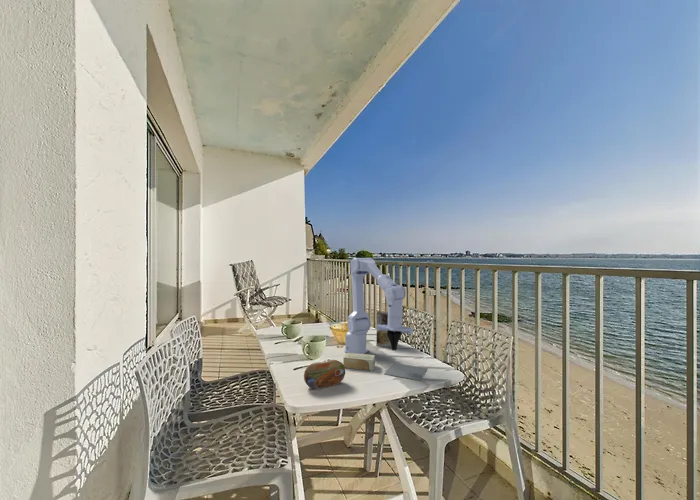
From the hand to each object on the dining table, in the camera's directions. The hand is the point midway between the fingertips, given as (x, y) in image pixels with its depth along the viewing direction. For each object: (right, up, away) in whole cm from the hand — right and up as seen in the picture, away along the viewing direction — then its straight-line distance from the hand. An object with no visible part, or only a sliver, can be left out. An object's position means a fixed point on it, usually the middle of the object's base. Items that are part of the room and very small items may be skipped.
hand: (394, 349), depth 127 cm
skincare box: (-8, -6, +1) cm, 10 cm away
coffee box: (0, -8, +33) cm, 34 cm away
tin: (-27, -8, -16) cm, 32 cm away
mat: (+4, -8, -2) cm, 9 cm away
